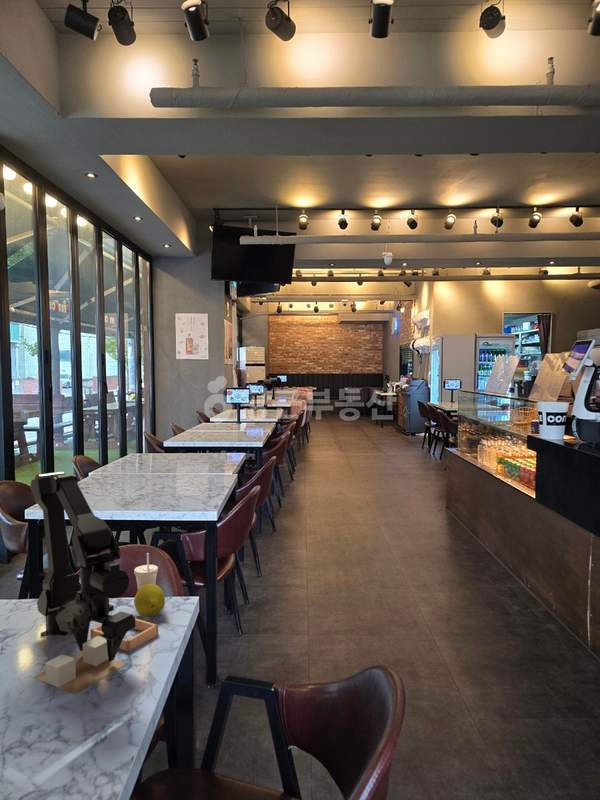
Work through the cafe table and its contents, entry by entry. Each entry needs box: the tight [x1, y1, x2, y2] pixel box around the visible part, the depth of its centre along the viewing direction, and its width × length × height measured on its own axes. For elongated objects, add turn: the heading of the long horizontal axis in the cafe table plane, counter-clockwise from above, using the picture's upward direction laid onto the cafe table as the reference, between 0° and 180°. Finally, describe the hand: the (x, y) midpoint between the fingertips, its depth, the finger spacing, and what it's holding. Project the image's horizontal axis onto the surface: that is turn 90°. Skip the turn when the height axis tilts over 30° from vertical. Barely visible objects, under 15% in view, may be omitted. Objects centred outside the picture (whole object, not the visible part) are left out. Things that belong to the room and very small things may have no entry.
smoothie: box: [133, 552, 159, 591], centre depth 150 cm, size 6×6×14 cm
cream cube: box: [83, 636, 109, 666], centre depth 118 cm, size 4×4×4 cm
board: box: [33, 651, 128, 696], centre depth 114 cm, size 13×13×1 cm
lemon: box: [133, 584, 166, 618], centre depth 142 cm, size 11×8×8 cm
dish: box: [89, 617, 159, 652], centre depth 129 cm, size 12×9×3 cm
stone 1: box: [44, 653, 76, 689], centre depth 110 cm, size 4×4×4 cm
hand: (96, 655), depth 118 cm, fingers open, 9 cm apart
